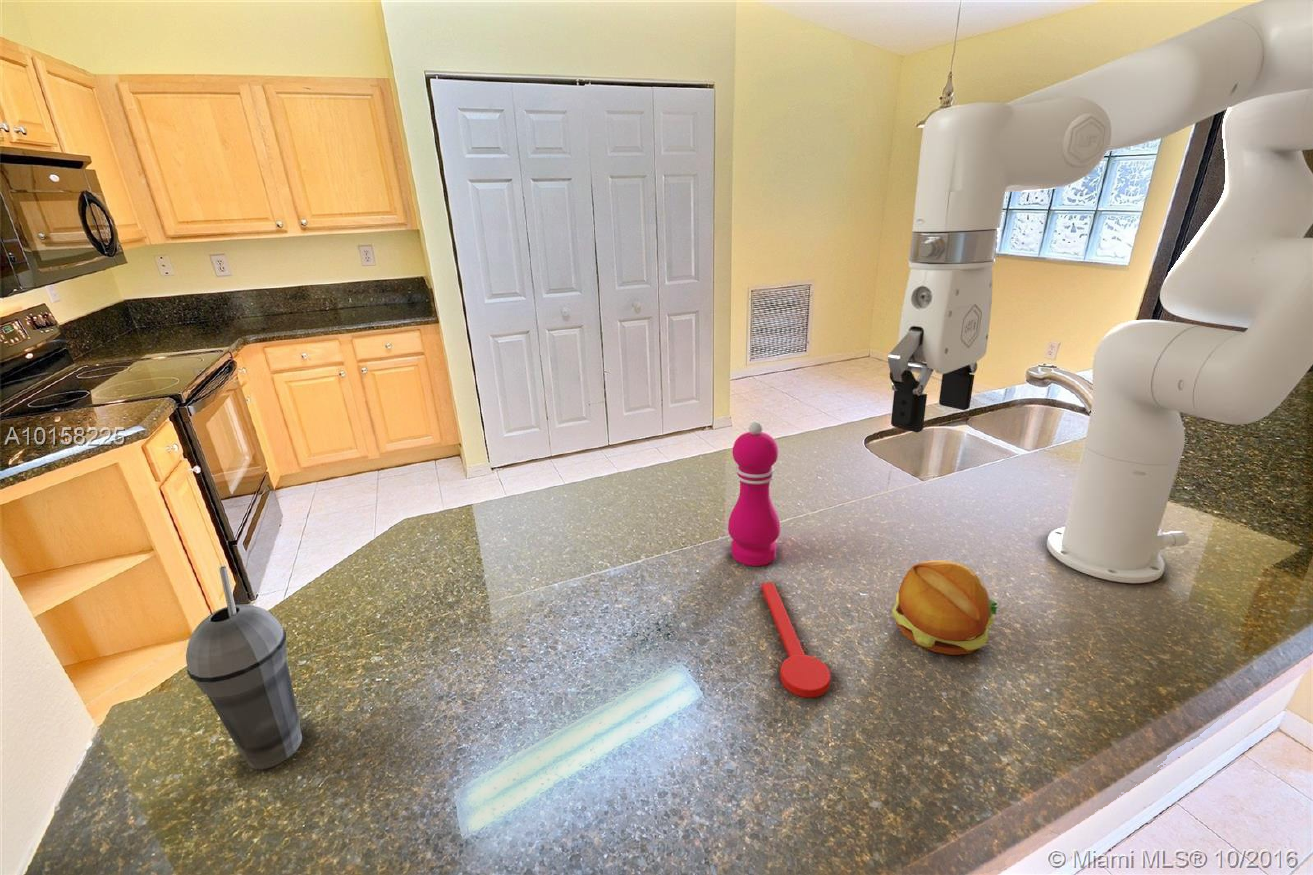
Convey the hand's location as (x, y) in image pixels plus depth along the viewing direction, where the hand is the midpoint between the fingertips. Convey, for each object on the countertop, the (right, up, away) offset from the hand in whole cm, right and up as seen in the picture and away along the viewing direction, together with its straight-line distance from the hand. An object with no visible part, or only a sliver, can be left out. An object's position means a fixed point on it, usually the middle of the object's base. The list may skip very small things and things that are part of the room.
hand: (931, 417), depth 62 cm
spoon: (-14, -25, +3) cm, 29 cm away
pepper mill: (-16, -19, +20) cm, 32 cm away
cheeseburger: (+3, -25, +3) cm, 25 cm away
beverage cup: (-66, -32, -7) cm, 73 cm away
